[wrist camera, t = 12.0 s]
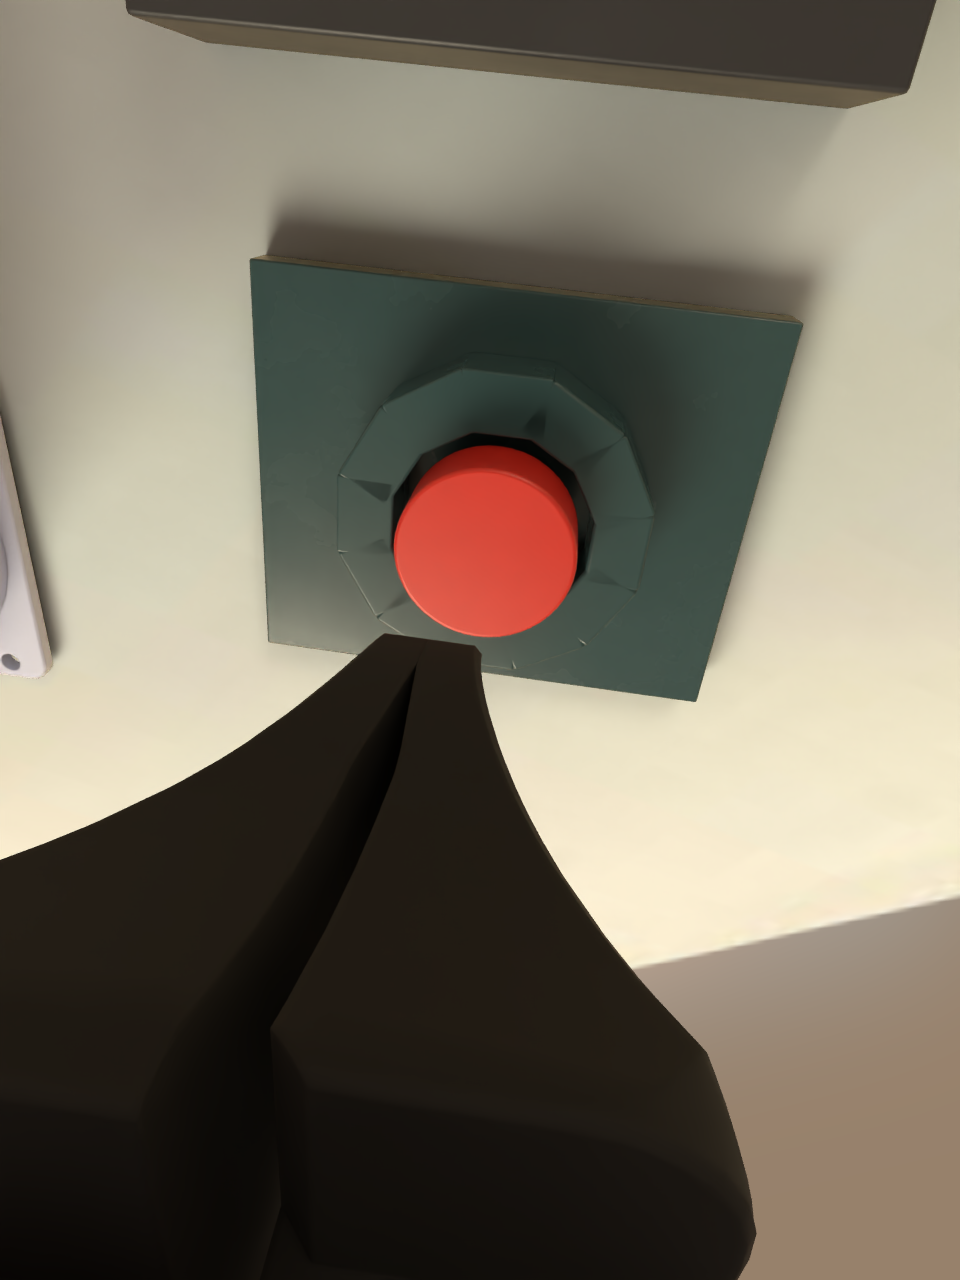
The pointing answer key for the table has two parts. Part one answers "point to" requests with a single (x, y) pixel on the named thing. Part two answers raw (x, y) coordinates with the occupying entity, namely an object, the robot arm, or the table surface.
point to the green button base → (523, 420)
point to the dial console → (597, 40)
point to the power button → (488, 542)
